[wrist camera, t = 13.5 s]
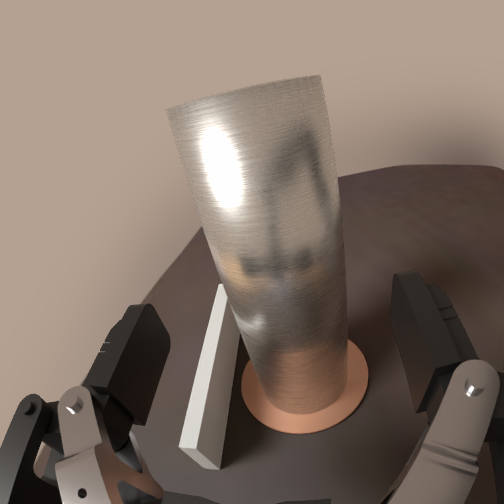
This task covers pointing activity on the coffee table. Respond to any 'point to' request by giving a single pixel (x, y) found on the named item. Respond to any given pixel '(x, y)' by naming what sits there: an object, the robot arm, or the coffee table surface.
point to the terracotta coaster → (313, 421)
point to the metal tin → (274, 230)
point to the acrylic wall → (212, 387)
